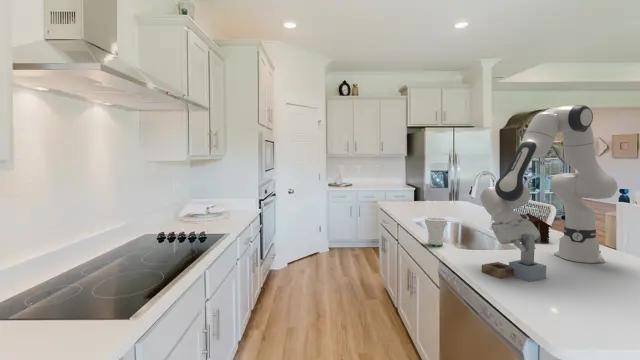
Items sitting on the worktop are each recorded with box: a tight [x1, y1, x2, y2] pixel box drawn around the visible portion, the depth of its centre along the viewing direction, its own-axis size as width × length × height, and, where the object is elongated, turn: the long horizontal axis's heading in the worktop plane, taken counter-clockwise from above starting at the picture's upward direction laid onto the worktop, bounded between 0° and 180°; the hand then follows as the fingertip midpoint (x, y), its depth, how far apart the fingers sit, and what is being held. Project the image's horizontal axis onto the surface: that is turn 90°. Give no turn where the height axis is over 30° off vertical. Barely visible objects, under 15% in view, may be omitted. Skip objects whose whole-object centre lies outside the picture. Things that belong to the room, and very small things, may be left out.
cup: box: [424, 216, 448, 248], centre depth 189 cm, size 11×11×14 cm
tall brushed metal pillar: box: [520, 233, 536, 266], centre depth 139 cm, size 3×3×14 cm
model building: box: [524, 212, 552, 244], centre depth 201 cm, size 21×12×15 cm, turn 165°
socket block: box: [481, 261, 515, 280], centre depth 143 cm, size 9×9×3 cm
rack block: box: [508, 259, 547, 282], centre depth 140 cm, size 9×9×5 cm
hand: (529, 250), depth 139 cm, fingers closed on tall brushed metal pillar, 3 cm apart
